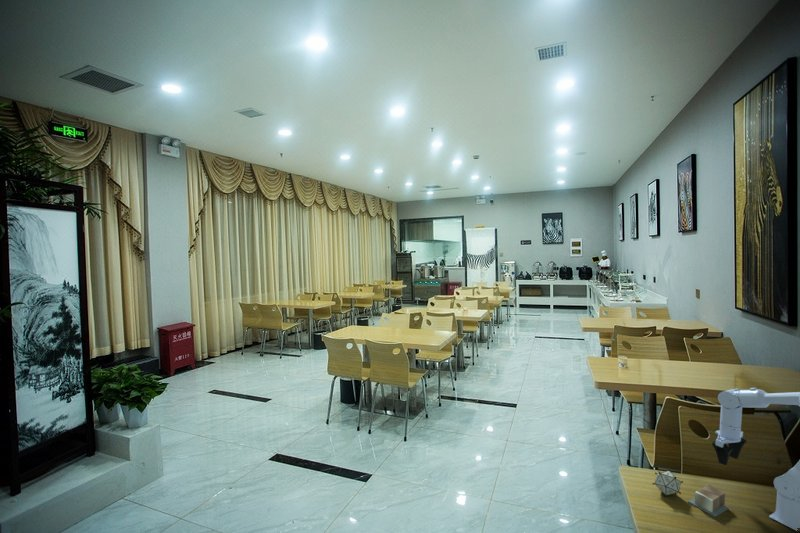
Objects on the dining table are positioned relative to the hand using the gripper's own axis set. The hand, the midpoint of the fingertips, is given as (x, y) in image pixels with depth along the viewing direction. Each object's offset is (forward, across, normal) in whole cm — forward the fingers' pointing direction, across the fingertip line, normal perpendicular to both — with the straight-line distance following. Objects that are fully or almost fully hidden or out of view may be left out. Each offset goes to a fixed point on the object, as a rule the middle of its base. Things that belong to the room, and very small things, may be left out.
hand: (728, 460), depth 142 cm
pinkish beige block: (+8, +11, +2) cm, 14 cm away
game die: (+11, +21, -9) cm, 25 cm away
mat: (+10, +16, +2) cm, 19 cm away
